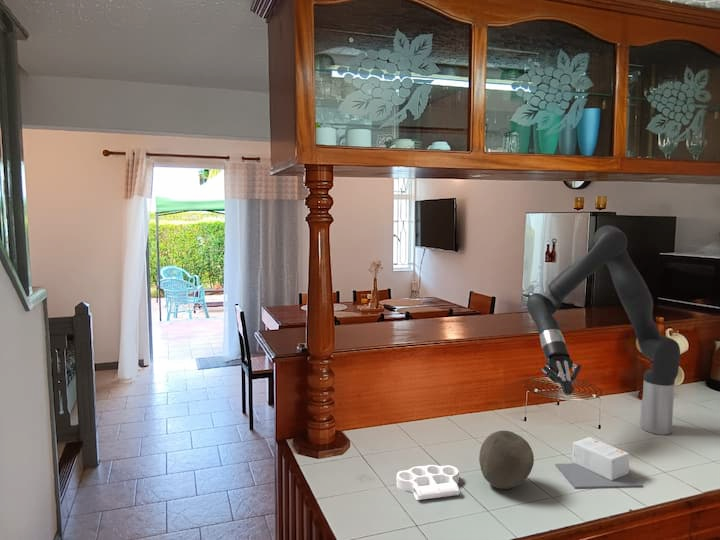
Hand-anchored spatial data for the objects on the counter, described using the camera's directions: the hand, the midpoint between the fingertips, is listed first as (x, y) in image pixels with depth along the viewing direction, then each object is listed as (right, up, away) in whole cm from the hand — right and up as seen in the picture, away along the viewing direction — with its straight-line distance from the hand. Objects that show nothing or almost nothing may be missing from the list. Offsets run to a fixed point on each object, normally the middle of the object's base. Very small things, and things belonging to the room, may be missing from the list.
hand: (569, 393), depth 159 cm
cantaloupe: (-25, -21, -18) cm, 38 cm away
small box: (+2, -16, -4) cm, 16 cm away
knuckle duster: (-46, -22, -18) cm, 54 cm away
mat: (+3, -20, -13) cm, 24 cm away
